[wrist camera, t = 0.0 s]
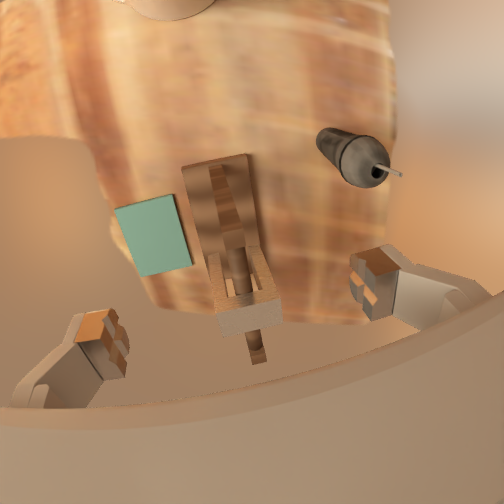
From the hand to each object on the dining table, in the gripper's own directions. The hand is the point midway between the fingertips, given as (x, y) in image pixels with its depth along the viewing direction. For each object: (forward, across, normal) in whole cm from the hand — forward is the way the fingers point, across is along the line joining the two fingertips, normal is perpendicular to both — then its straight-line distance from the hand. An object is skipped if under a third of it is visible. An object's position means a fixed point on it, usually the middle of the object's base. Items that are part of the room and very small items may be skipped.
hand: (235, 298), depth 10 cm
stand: (+40, -1, +14) cm, 43 cm away
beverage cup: (+40, -20, +3) cm, 44 cm away
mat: (+40, +12, +14) cm, 44 cm away
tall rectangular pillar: (+28, -1, +15) cm, 32 cm away
